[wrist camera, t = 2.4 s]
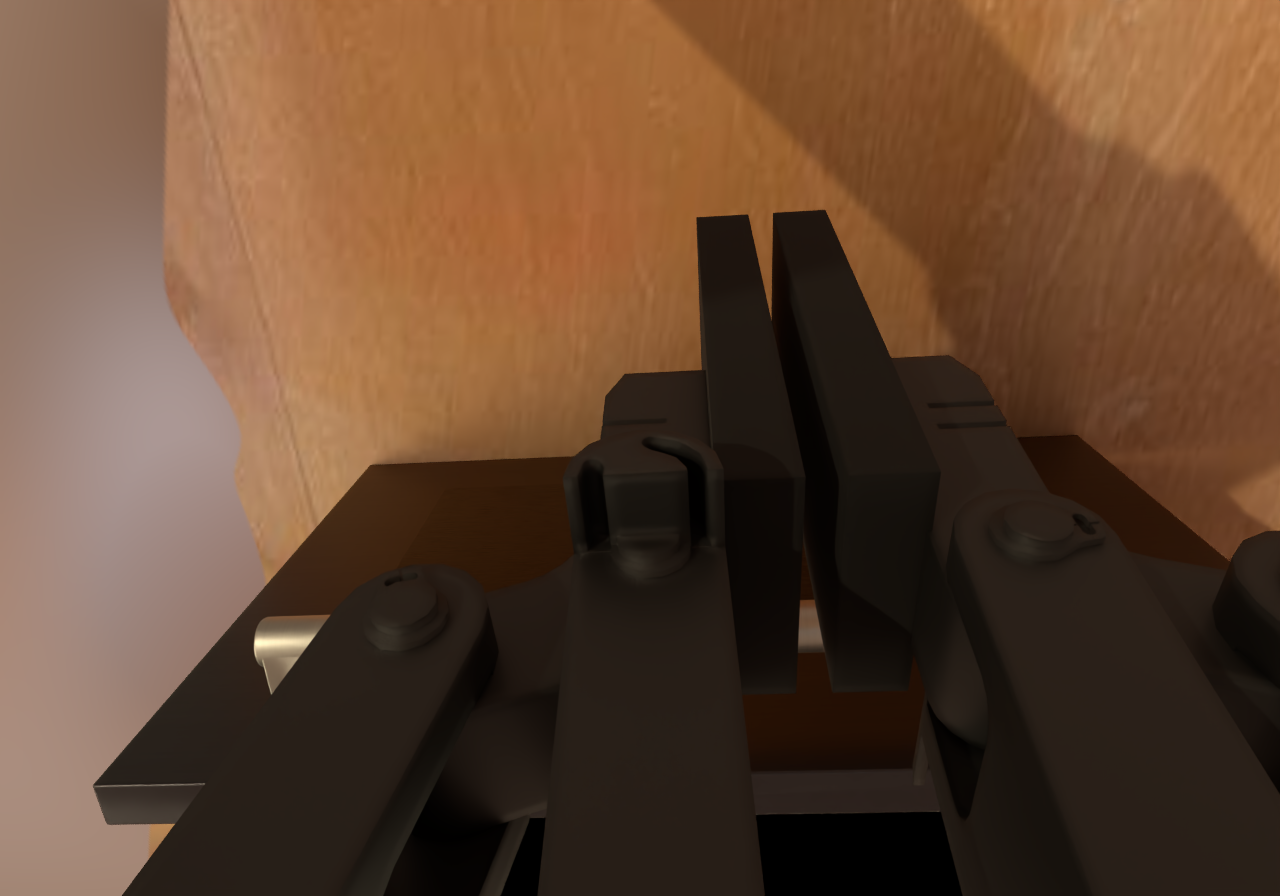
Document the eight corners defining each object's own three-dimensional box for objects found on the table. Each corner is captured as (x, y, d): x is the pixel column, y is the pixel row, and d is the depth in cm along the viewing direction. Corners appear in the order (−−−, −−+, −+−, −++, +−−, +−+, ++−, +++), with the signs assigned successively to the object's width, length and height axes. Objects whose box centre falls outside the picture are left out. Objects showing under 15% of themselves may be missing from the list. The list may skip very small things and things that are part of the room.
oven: (377, 490, 52) (167, 942, 30) (1070, 462, 49) (1384, 934, 27) (473, 810, 69) (384, 1238, 48) (985, 802, 67) (1134, 1249, 45)
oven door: (358, 402, 49) (53, 682, 25) (1086, 368, 47) (1512, 643, 23) (374, 489, 51) (105, 826, 27) (1074, 461, 49) (1455, 805, 25)
